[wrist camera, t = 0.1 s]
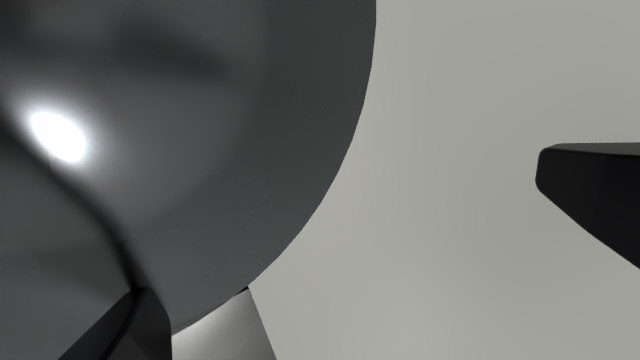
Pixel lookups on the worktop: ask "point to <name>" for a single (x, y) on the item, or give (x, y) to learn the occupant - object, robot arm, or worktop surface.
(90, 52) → the cooker lid
